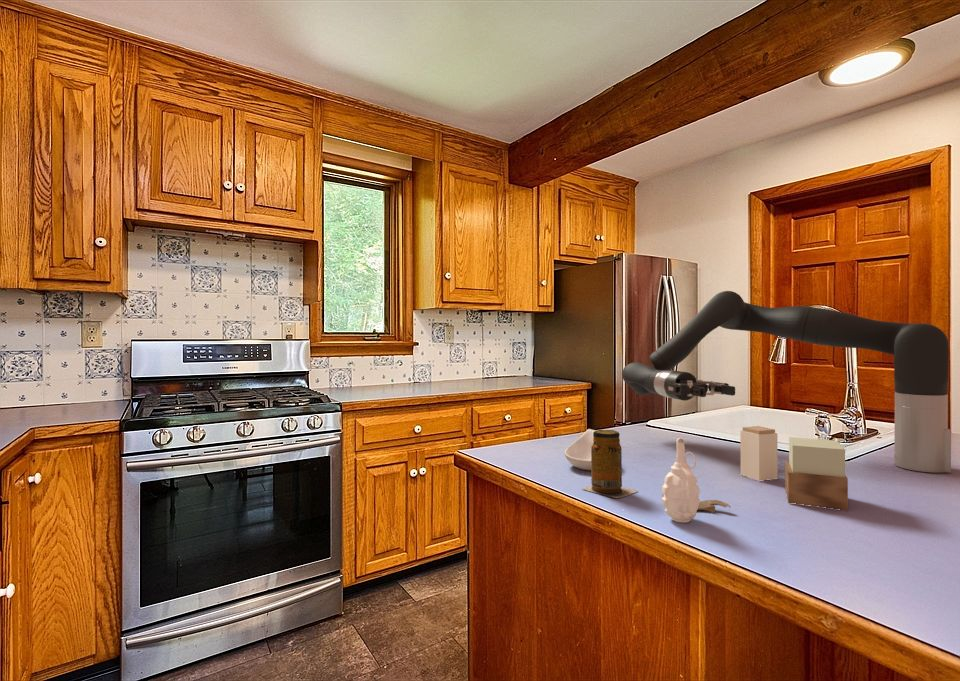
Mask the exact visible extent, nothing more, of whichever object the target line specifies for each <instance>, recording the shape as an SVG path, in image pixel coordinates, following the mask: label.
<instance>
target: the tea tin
mask: <svg viewBox="0 0 960 681" xmlns="http://www.w3.org/2000/svg"><path fill="white" fill-rule="evenodd" d="M778 469H779V468H778V433H777V432H776V429H774V428H768V427H765V426H761V425H757V426H756V425H754V426H753V425H752V426H743V427H742V430H740V476H741V475H743V476H747V477H749V478H753V479H756V480H759V481H760V480H767V479H775V478H778V476H779V475H778V473H779V472H778ZM743 476H742V477H743ZM749 478H748V479H749ZM778 479H779V478H778Z"/></svg>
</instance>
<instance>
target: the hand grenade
mask: <svg viewBox="0 0 960 681" xmlns="http://www.w3.org/2000/svg"><path fill="white" fill-rule="evenodd" d="M675 442H676V443H675V444H676V448H675V449H676V457H675V459H676V461H675V462H674V463H673V465H671V466H670V471H669V472H668V473H667V474H666V476H664V480H663V482H664V483H663V485H662V487H661V493H662V495H663V494H664V497H663V496H662V497H661V502H662V503H661V504H662V506H663V507H665V509H664V512H665V515H667V516H668V517H670V518H671V520H672V521H674V522H677V523H681V524H682V523H684V524H685V523H690V522H691V521H692V519H695V517H696V516H697V512H698V511H699V510H698V506H699V503H700V501H701V499H700V497H699V494H700V493H701V491H700V486H698V485H697V483H698V480H697V477H696V476H695V475H694V472H693V471H692V470H694V469H695V467H696V465H697V460H696V459H697V458H696V456H695V455H694V453H692V451H691V452H690V451H687V452H686V453H685V451H686V449H685V439H684V438H680V437H678V438H677V439H676V441H675ZM688 454H691V455H692V456H693V459H694V462H693V466H692V467H690V466H689V464H688V461H687V455H688Z"/></svg>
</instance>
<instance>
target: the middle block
mask: <svg viewBox="0 0 960 681" xmlns="http://www.w3.org/2000/svg"><path fill="white" fill-rule="evenodd" d="M788 461H789V463H790V466H791V469H792V472H796V473H806V474H816V475H826V476H836V477H845V475H846V449H845V447H843V445H842V443H840V441H839V440H832V439H820V438H818V439H817V438H807V437H792V436H789V437H788Z"/></svg>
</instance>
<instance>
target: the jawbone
mask: <svg viewBox="0 0 960 681" xmlns="http://www.w3.org/2000/svg"><path fill="white" fill-rule="evenodd" d="M663 497H664V494H663V493H662V498H663ZM716 506H720V507H723V508H726V507H729V508H731V506H730V504H728V503H727V502H725V501H721V500H719V499H718V500H717V499H707V500H700V503H699V506H698V510H697V511H706V512H708V513H712V514H715V513H716Z"/></svg>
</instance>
